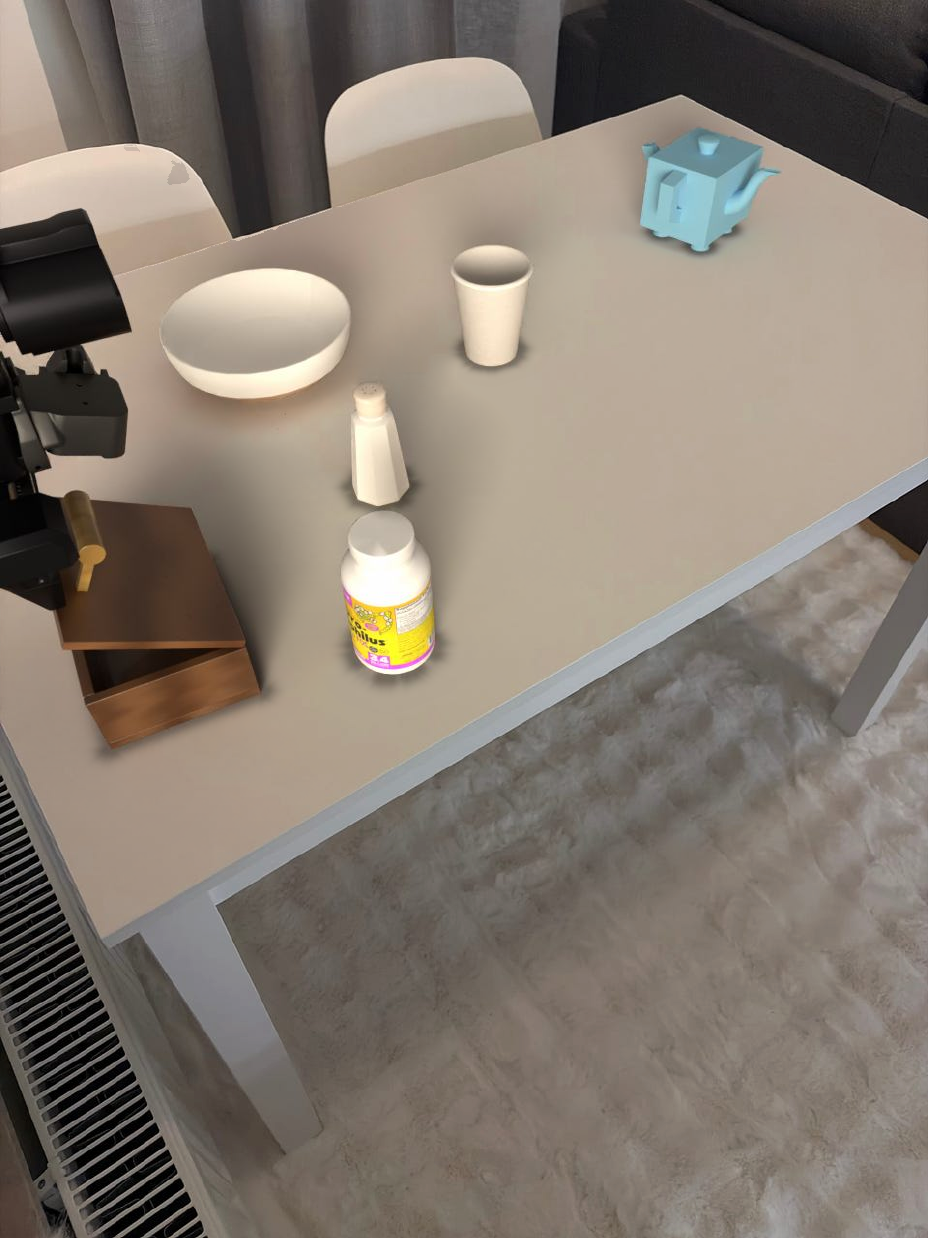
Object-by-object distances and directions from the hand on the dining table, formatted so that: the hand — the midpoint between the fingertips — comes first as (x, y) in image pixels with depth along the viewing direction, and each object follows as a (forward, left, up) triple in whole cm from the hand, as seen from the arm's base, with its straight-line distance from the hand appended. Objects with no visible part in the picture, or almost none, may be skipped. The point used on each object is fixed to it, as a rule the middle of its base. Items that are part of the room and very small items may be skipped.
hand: (47, 561), depth 63 cm
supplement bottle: (+22, -8, -13) cm, 26 cm away
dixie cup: (+47, +25, -13) cm, 55 cm away
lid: (+5, 0, -4) cm, 6 cm away
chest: (+5, 0, -13) cm, 13 cm away
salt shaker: (+28, +10, -13) cm, 32 cm away
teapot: (+81, +36, -13) cm, 89 cm away
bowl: (+24, +33, -13) cm, 43 cm away
